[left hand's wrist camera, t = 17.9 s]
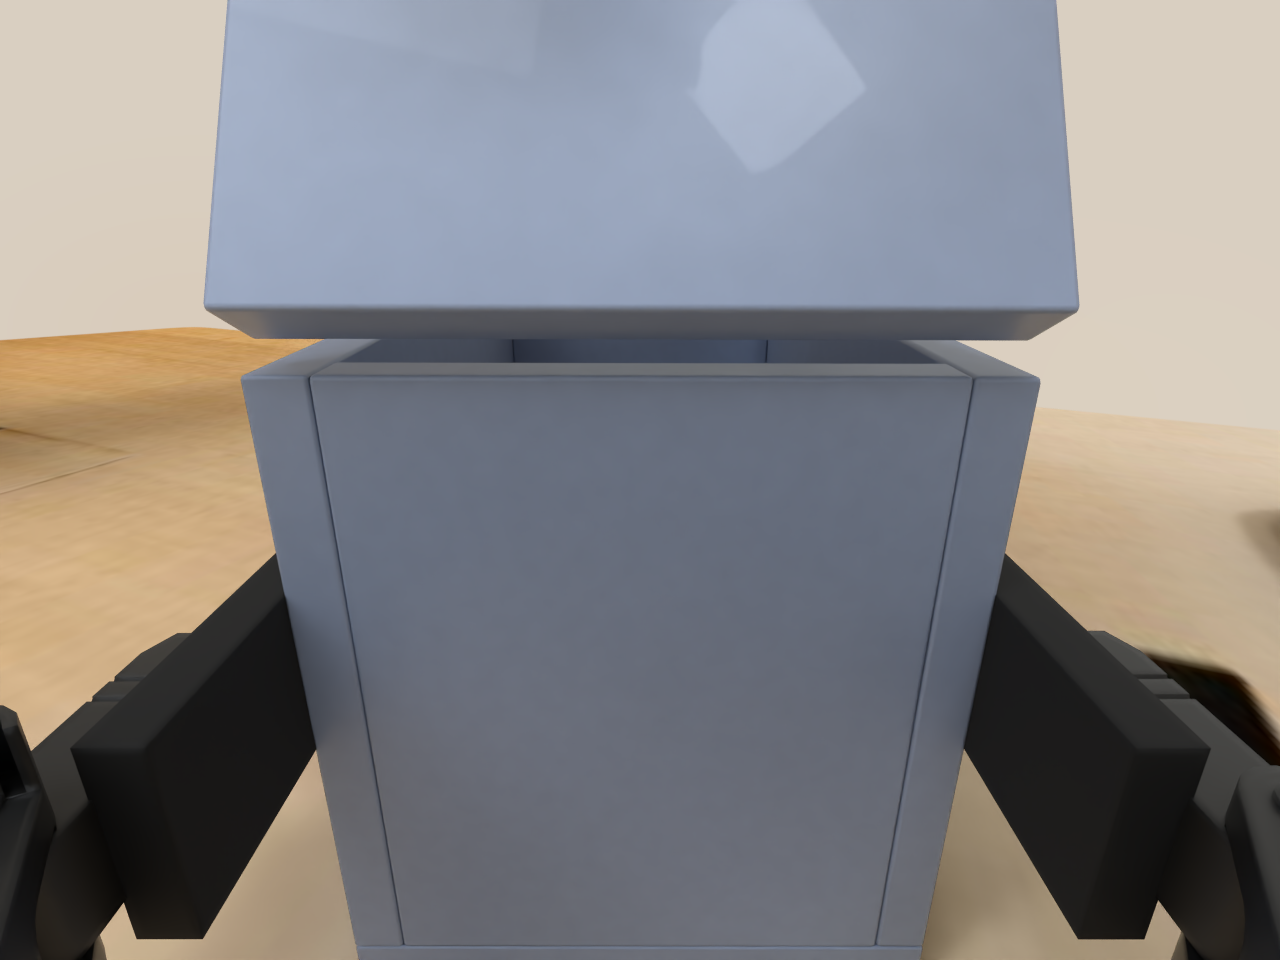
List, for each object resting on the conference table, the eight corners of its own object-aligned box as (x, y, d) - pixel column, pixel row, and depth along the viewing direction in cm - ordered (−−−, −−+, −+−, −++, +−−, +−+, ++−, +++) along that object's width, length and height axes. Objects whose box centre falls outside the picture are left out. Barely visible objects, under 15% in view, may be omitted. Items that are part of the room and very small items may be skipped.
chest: (508, 569, 27) (485, 266, 23) (771, 569, 27) (794, 267, 23) (361, 980, 13) (237, 375, 9) (916, 980, 13) (1044, 377, 9)
